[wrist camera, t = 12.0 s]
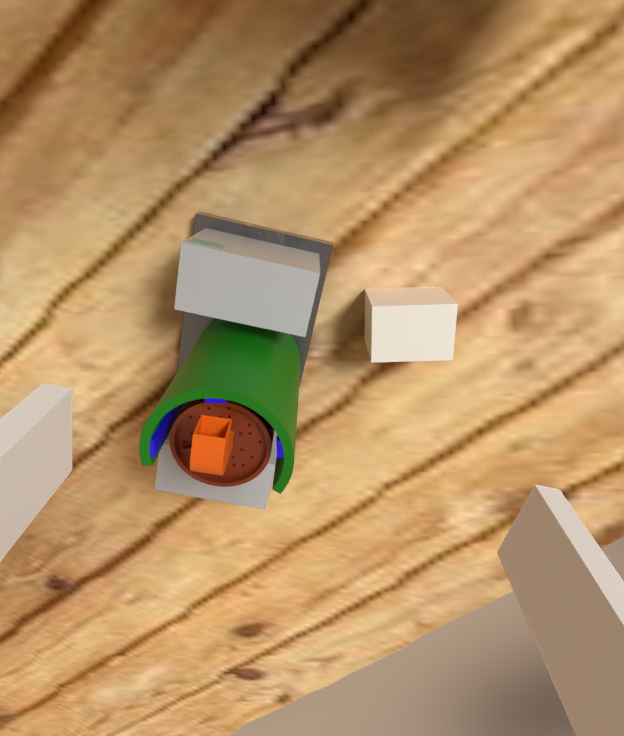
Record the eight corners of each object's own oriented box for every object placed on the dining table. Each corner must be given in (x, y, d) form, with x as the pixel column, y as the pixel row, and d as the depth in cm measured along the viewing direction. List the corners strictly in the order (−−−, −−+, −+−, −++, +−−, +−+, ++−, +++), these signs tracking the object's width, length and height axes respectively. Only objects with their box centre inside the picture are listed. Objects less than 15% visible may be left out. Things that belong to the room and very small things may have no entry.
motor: (199, 397, 46) (124, 548, 28) (190, 310, 43) (96, 420, 24) (301, 397, 46) (291, 549, 28) (299, 311, 43) (288, 420, 24)
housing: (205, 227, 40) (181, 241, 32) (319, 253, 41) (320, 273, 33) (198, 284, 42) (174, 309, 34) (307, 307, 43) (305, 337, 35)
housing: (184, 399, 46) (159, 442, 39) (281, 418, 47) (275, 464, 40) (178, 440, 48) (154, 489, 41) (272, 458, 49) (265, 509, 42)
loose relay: (364, 288, 44) (372, 306, 38) (439, 286, 43) (457, 303, 38) (364, 338, 46) (371, 362, 40) (435, 336, 45) (452, 359, 40)
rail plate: (199, 211, 41) (195, 213, 39) (332, 242, 42) (333, 245, 40) (172, 438, 50) (168, 446, 49) (281, 459, 51) (280, 467, 50)
